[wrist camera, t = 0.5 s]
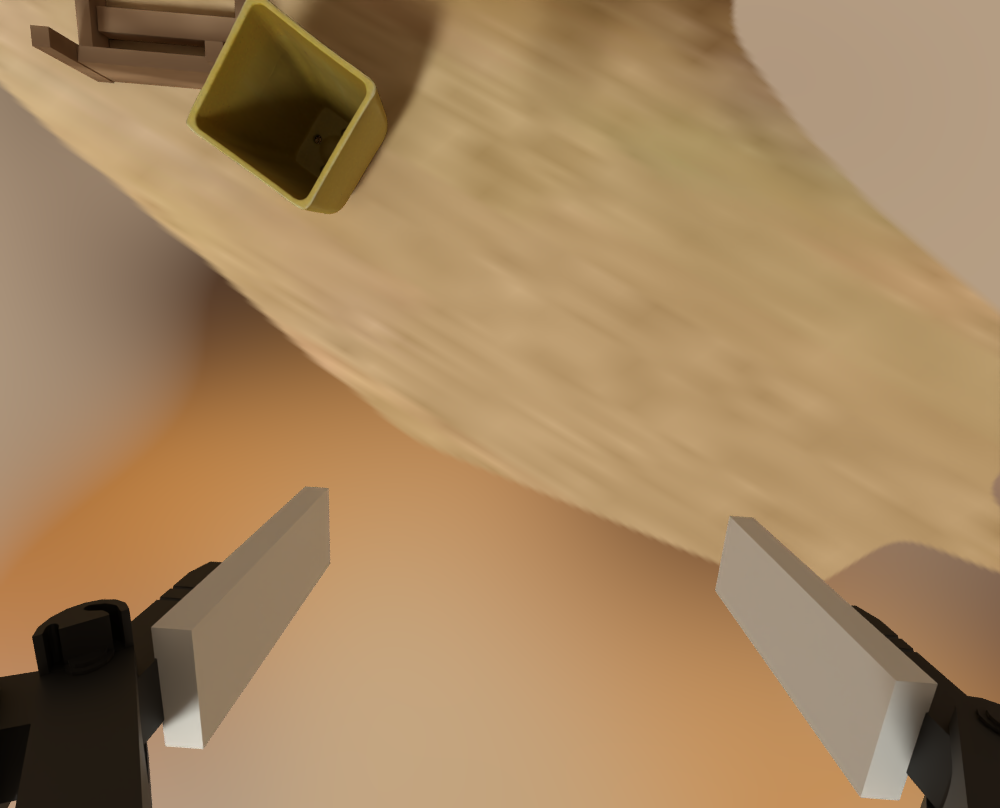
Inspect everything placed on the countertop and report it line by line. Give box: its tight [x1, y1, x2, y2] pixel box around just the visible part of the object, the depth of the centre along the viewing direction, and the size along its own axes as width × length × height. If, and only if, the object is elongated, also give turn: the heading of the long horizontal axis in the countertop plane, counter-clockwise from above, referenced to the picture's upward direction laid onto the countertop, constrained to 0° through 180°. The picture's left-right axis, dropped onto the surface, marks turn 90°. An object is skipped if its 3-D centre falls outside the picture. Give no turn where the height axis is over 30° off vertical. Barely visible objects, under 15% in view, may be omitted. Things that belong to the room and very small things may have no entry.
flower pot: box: [186, 0, 388, 214], centre depth 32 cm, size 9×9×9 cm
